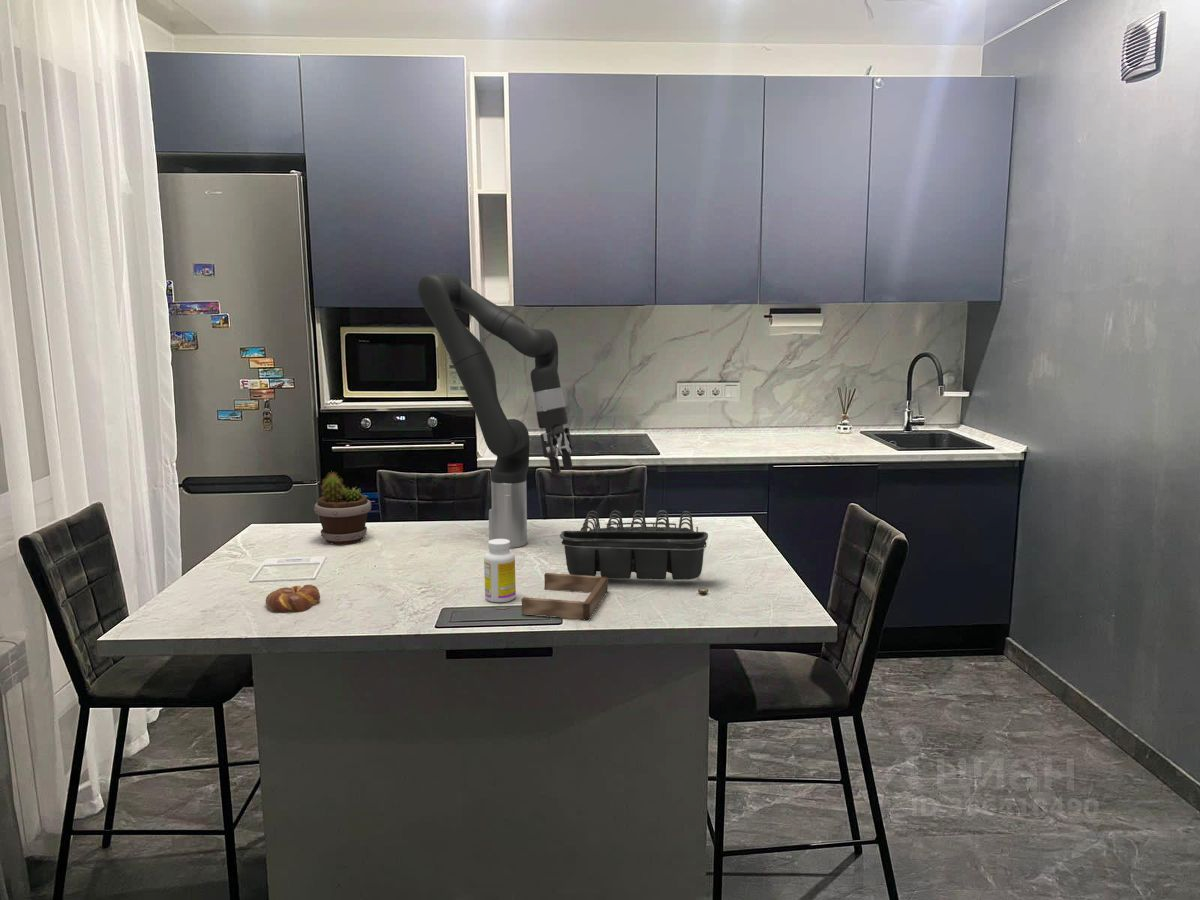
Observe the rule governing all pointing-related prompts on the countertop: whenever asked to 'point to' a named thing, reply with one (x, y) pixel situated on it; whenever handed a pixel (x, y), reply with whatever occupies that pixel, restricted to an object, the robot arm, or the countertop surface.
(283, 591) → the pretzel
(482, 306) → the robot arm
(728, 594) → the countertop surface
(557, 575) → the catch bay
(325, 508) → the flowerpot
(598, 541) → the dish rack
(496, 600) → the supplement bottle
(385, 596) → the countertop surface
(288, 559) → the photo frame
